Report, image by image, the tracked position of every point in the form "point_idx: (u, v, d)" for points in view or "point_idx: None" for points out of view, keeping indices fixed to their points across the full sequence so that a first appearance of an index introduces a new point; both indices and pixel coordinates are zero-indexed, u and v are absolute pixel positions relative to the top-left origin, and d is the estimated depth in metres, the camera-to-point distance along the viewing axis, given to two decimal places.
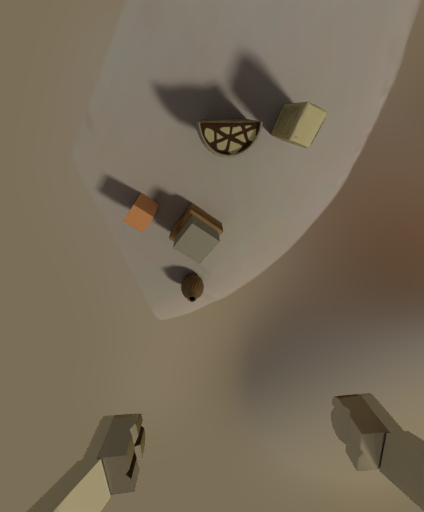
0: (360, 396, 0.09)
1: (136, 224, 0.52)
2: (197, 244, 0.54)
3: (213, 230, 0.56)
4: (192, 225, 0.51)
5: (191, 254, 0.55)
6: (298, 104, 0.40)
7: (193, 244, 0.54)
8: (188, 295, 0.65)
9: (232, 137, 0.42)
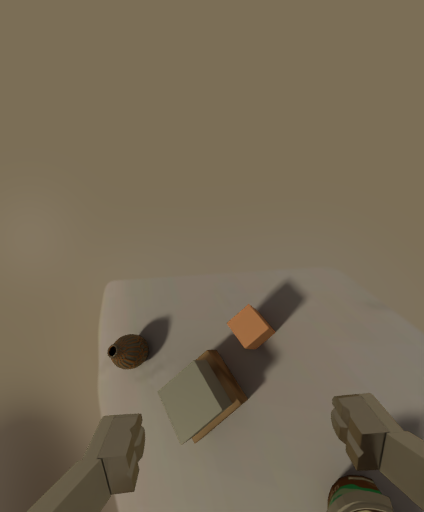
0: (360, 396, 0.09)
1: (240, 319, 0.38)
2: (187, 403, 0.34)
3: (200, 430, 0.36)
4: (218, 409, 0.32)
5: (174, 383, 0.36)
6: None
7: (189, 395, 0.35)
8: (119, 347, 0.44)
9: None
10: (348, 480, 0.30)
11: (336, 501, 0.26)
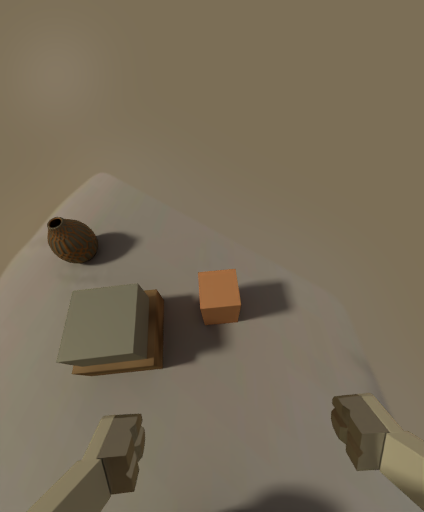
0: (360, 397, 0.09)
1: (215, 277, 0.29)
2: (98, 322, 0.25)
3: (90, 364, 0.27)
4: (129, 349, 0.24)
5: (98, 294, 0.27)
6: None
7: (106, 315, 0.26)
8: (65, 224, 0.35)
9: None
10: None
11: None
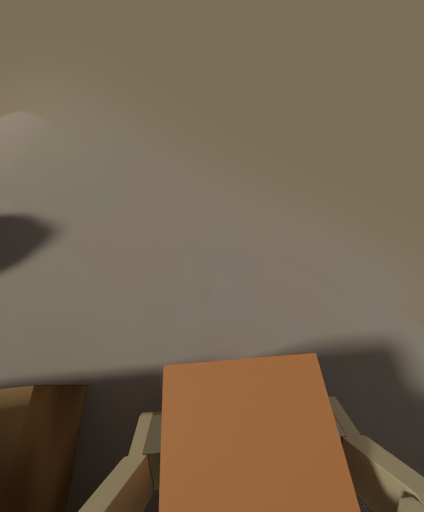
0: None
1: (236, 397, 0.07)
2: None
3: None
4: None
5: None
6: None
7: None
8: None
9: None
10: None
11: None
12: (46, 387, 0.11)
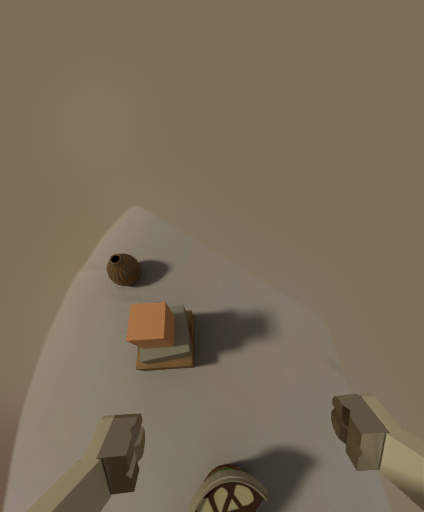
0: (360, 397, 0.09)
1: (145, 310, 0.32)
2: None
3: (155, 361, 0.39)
4: (186, 349, 0.37)
5: None
6: None
7: None
8: (122, 259, 0.47)
9: None
10: (236, 467, 0.35)
11: (227, 471, 0.30)
12: (191, 312, 0.46)
